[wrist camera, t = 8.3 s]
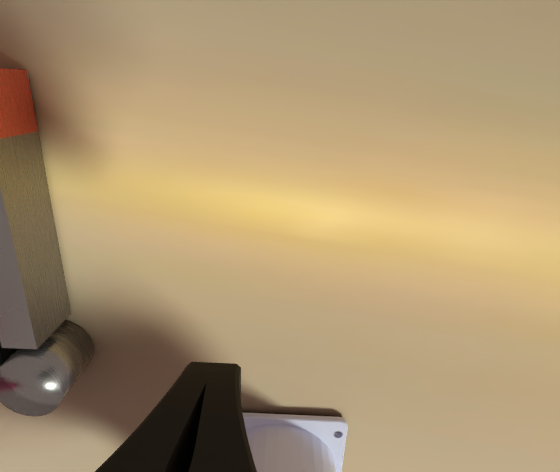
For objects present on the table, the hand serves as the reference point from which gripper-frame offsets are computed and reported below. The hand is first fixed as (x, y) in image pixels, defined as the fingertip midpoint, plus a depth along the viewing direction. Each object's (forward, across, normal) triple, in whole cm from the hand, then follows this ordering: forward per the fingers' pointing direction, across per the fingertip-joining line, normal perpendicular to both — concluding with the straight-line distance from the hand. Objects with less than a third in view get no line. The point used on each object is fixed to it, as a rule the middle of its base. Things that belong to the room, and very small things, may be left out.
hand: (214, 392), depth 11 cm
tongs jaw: (+9, +10, -2) cm, 14 cm away
